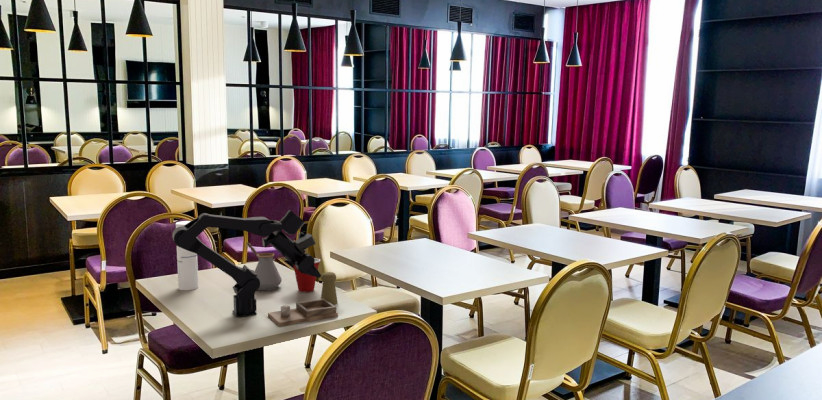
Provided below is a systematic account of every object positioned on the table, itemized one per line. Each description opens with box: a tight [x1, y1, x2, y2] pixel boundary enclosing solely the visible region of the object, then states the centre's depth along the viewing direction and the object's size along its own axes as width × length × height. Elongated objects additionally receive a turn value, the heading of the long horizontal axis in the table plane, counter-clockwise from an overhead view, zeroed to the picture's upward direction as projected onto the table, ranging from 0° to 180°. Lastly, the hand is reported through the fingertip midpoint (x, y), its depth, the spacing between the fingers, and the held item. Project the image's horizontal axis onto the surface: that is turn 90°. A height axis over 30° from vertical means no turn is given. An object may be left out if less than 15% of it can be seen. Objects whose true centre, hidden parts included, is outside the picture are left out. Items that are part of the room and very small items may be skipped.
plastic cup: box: [293, 257, 321, 293], centre depth 236 cm, size 11×11×12 cm
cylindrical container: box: [175, 220, 199, 291], centre depth 236 cm, size 7×7×25 cm
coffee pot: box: [244, 242, 282, 291], centre depth 242 cm, size 21×12×15 cm, turn 40°
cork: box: [320, 271, 338, 306], centre depth 220 cm, size 6×6×11 cm
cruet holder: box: [267, 298, 339, 327], centre depth 206 cm, size 20×11×4 cm, turn 120°
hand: (316, 273), depth 217 cm, fingers open, 9 cm apart
